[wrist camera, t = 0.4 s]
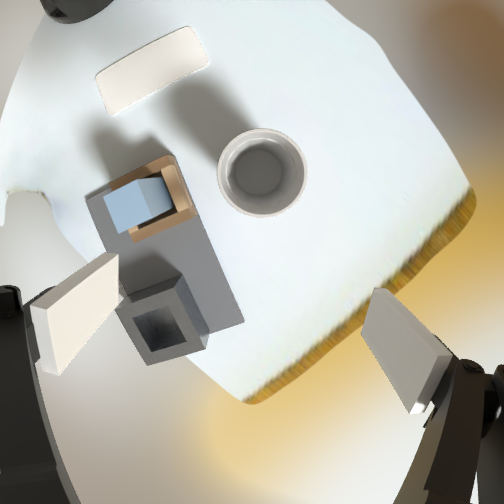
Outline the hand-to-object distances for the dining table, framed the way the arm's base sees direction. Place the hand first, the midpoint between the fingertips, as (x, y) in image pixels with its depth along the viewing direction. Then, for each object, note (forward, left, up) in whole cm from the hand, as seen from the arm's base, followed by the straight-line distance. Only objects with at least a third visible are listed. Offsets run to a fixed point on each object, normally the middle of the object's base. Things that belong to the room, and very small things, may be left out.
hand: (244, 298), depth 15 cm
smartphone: (-24, -5, -26) cm, 36 cm away
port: (+8, -15, -25) cm, 30 cm away
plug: (-7, -10, -24) cm, 27 cm away
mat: (+1, -13, -26) cm, 29 cm away
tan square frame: (-7, -10, -25) cm, 27 cm away
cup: (-5, +3, -26) cm, 27 cm away
